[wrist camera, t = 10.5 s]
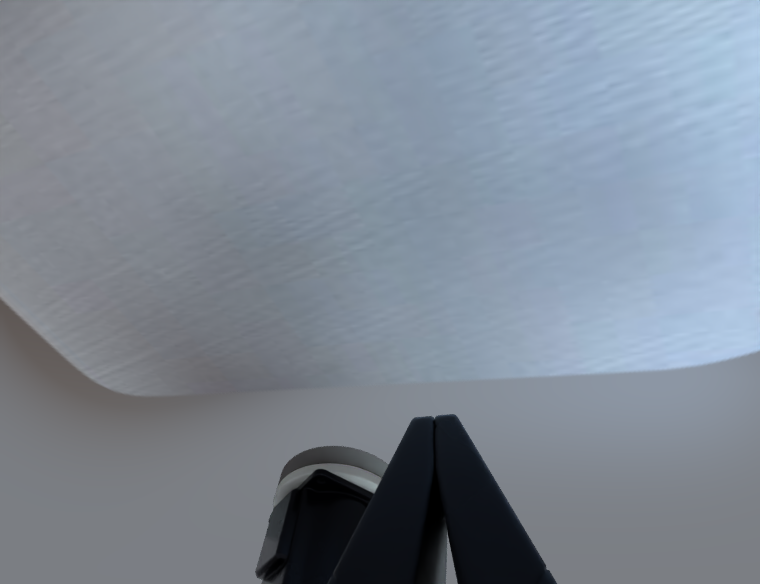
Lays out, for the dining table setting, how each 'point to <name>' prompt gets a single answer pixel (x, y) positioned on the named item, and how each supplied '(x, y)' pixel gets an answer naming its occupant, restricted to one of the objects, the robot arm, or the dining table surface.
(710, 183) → the dining table surface
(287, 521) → the robot arm
